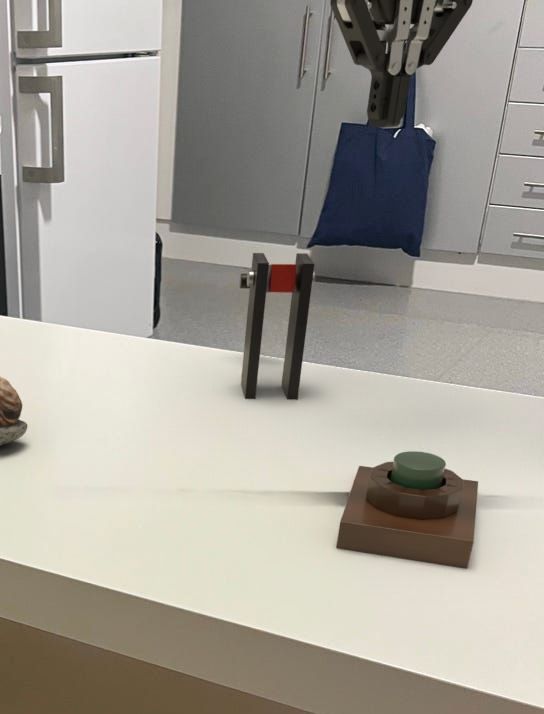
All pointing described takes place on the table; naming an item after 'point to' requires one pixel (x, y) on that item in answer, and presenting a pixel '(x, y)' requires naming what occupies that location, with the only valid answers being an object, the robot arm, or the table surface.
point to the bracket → (295, 327)
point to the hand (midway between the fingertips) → (384, 126)
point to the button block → (410, 518)
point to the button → (418, 470)
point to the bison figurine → (10, 414)
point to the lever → (276, 278)
